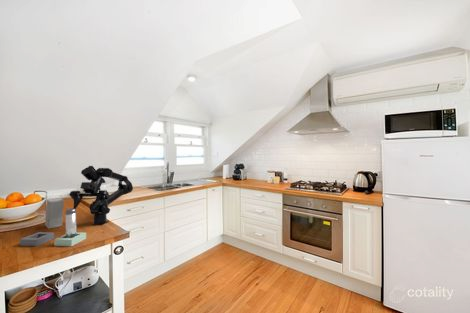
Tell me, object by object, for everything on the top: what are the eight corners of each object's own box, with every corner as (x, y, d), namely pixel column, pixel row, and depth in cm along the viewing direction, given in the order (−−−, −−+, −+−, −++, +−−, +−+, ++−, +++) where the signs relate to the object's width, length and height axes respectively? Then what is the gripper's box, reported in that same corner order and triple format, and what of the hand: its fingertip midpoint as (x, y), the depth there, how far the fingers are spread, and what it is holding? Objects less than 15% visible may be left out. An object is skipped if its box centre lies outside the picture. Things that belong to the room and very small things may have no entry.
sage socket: (70, 238, 100) (70, 232, 100) (86, 238, 99) (86, 232, 99) (54, 245, 92) (54, 239, 92) (71, 246, 91) (71, 239, 91)
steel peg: (66, 241, 96) (66, 208, 96) (77, 239, 98) (77, 207, 98) (64, 244, 93) (64, 210, 93) (75, 242, 95) (75, 209, 95)
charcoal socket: (38, 238, 100) (38, 232, 100) (54, 238, 99) (54, 232, 99) (19, 245, 91) (19, 239, 91) (36, 246, 91) (36, 239, 91)
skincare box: (44, 225, 117) (44, 199, 117) (60, 222, 122) (60, 197, 122) (47, 229, 112) (47, 201, 112) (64, 225, 117) (64, 199, 117)
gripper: (71, 176, 110) (56, 200, 99) (107, 176, 113) (96, 199, 102) (80, 188, 118) (67, 211, 107) (113, 187, 120) (104, 210, 110)
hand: (83, 208), depth 106 cm, fingers open, 9 cm apart
